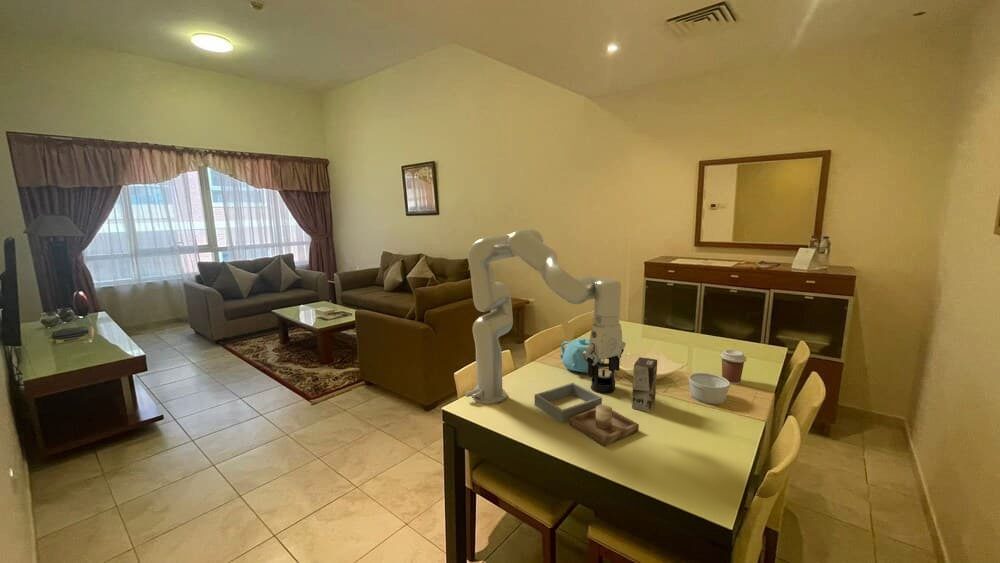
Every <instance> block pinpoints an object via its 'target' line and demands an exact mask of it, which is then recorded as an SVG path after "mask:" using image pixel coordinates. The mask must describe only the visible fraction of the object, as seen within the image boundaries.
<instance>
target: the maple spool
mask: <svg viewBox="0 0 1000 563" xmlns="http://www.w3.org/2000/svg"><path fill="white" fill-rule="evenodd" d="M612 410H613V408H612V406H611V405H608V404H604V403H602V404H601V405H597V406H596V423H595V425H596V427H597V428H599V429H601V430H609V429H611V427H612Z"/></svg>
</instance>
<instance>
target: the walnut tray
mask: <svg viewBox="0 0 1000 563" xmlns="http://www.w3.org/2000/svg"><path fill="white" fill-rule="evenodd" d="M595 423H596V408H594V409H591V410H589V411H586V412H583V413H581V414H578V415H575V416H573V417H570V421H569V425H570V426H571V427H573V429H575V430H577V431H579V432H580V433H582V434H583V435H585V436H586V437H588V438H590V439H592V440H593V441H594V442H596V443H597V444H599V445H600V446H602V447H604V448H605V447H608V446H610V445H611V444H612V445H613V443H616V442H619V441H620V440H623V439H625V438H627V437H630V436H632V435H634V434H637V433H639V431H640V430H639V428H640V424H639V423H637V422H635V421H634V420H631V419H630V418H628V417H626V416H624V415H623V414H620V413H618V412H617V411H616V410H613V409H612V427H611V429H609V430H601V429H599V428H597V427H596V425H595Z"/></svg>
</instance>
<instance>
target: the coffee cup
mask: <svg viewBox="0 0 1000 563" xmlns="http://www.w3.org/2000/svg"><path fill="white" fill-rule="evenodd" d="M719 357H720V358H721V377H723V378H725V379H726V380H728V381H729V383H730V385H740V384H741V380H742V375H743V371H744V365H745V362H747V359H748V358H747V357H746V356H745V353H743V351H740V350H737V349H731V348H729V349H724V350H723V352H722V353H720V355H719Z"/></svg>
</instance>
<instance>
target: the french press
mask: <svg viewBox="0 0 1000 563" xmlns="http://www.w3.org/2000/svg"><path fill="white" fill-rule="evenodd" d="M594 359H595V357H593V359H592V360H594ZM605 360H608V363H607V362H606V363H605ZM602 361H603V363H601V362H600V363H599V362H597V363H596V365H597V377H596V378H593V377H591V376H589V375H588V378H591V383H590V384H591V385H590V390H591V391H593V392H595V393H597V394H601V395H602V394H603V395H609V394H613V393H615V392H616V390H617V389H616V388H617V387H616V379H615V375H616V373H615V371H616V370H614V369H611V368H610V361H611V357H610V358H606V359H602ZM599 366H601V367H599Z"/></svg>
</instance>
